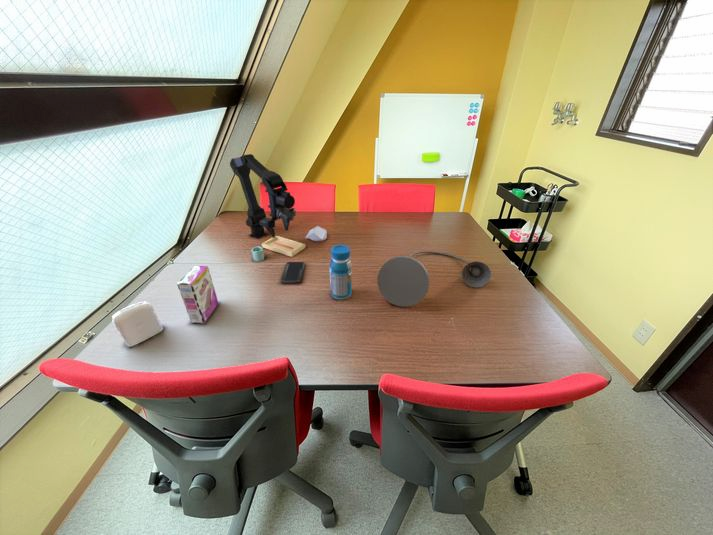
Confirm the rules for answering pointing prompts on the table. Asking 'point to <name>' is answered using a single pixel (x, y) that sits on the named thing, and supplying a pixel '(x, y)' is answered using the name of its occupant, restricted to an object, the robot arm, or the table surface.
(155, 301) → the table surface
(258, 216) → the robot arm
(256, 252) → the cup
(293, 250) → the tray
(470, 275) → the desk lamp
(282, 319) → the table surface
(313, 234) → the crumpled paper
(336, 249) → the beverage bottle
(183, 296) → the candy bar box
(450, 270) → the table surface
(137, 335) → the photo printer
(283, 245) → the red thin rounded piece
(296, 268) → the phone
